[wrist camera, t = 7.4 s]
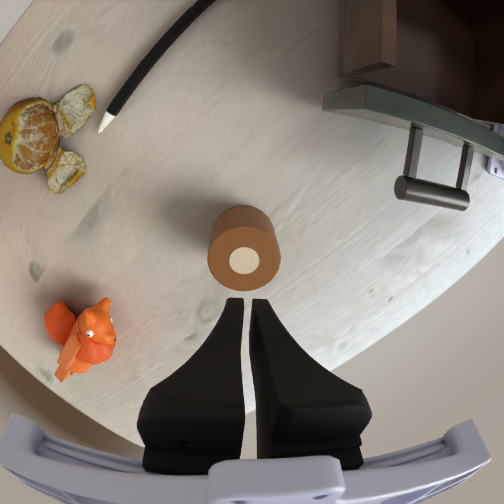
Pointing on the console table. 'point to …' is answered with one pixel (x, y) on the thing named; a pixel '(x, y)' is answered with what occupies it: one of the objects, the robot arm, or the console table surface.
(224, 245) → the brown short cylinder
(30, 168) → the fruit
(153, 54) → the pen
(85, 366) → the orange chunky figure
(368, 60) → the drawer
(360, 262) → the console table surface
